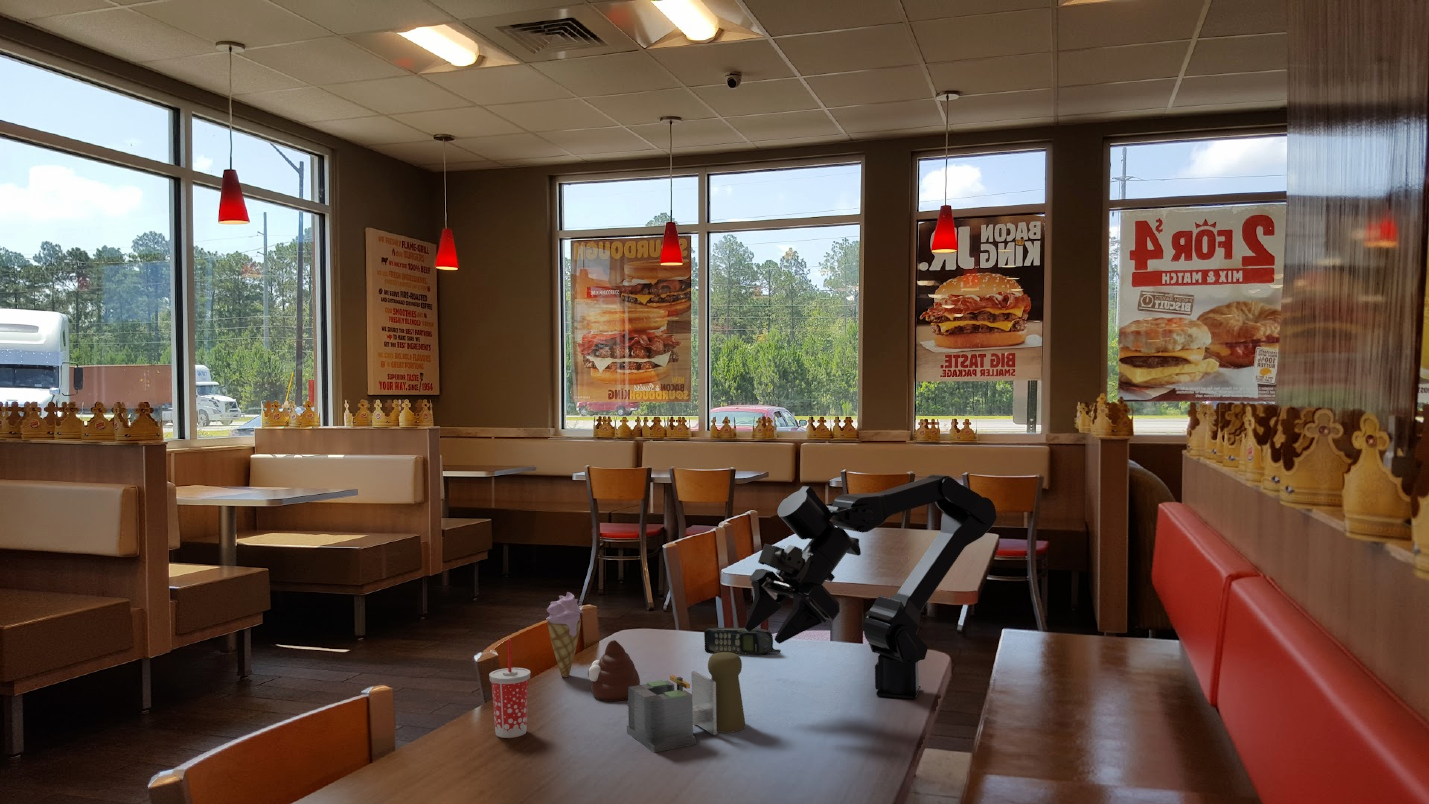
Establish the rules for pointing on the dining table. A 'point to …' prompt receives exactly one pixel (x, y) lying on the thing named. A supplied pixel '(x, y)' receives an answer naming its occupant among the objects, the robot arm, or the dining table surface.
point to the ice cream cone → (564, 630)
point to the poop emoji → (613, 674)
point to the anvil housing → (660, 716)
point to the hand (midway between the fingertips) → (761, 635)
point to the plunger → (701, 700)
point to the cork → (727, 691)
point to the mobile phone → (739, 641)
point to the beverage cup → (510, 699)
